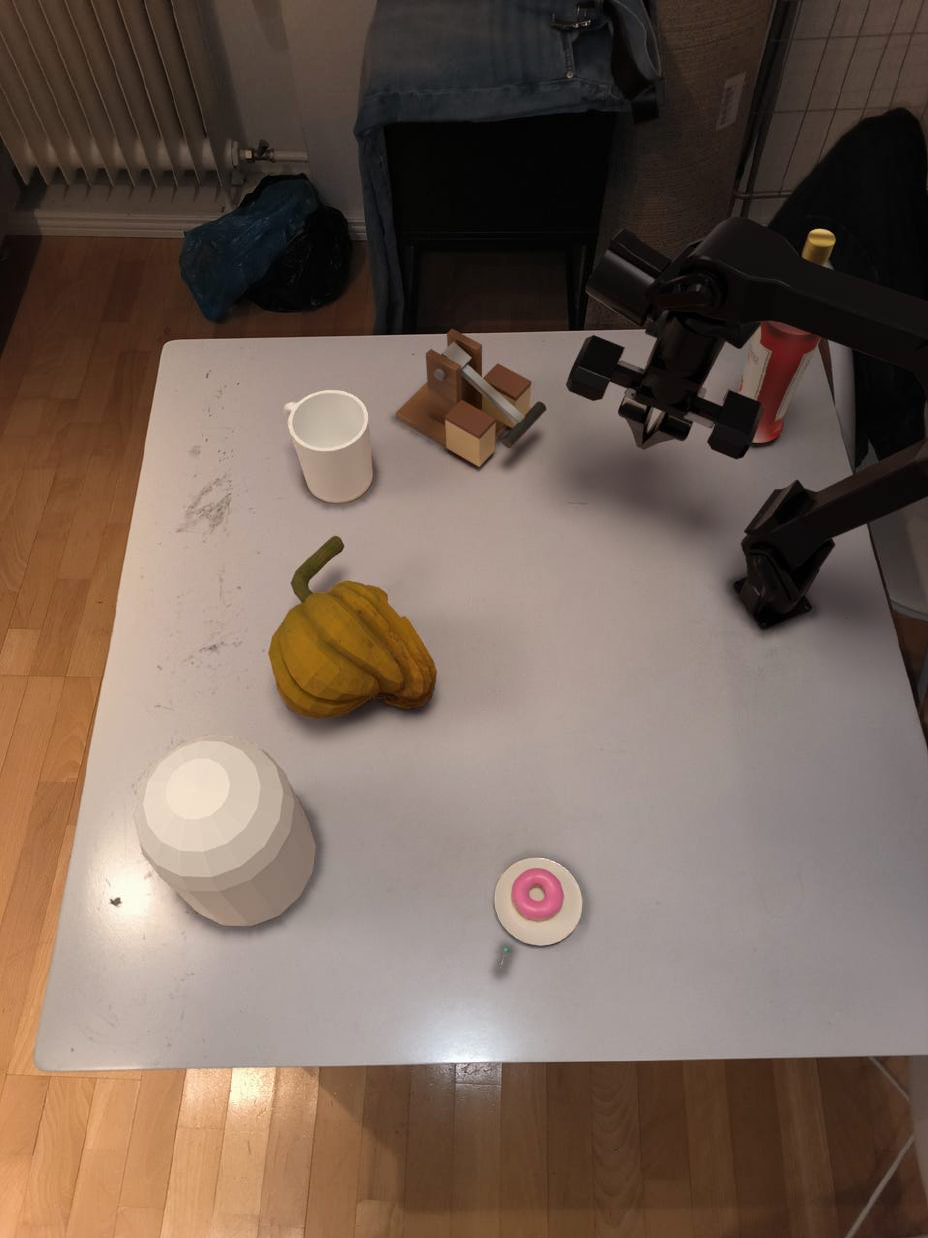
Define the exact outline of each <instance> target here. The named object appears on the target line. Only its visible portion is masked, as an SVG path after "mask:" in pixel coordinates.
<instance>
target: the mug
mask: <svg viewBox="0 0 928 1238" xmlns="http://www.w3.org/2000/svg"><path fill="white" fill-rule="evenodd" d="M283 416H284V420H285V422H286V424H287V427H288V430H289V433H290V436H291V437H290V438H291V439H292V442H293V446H294V449H295V452H296V455H297V458H298V461H299V463H300V468H301V470H302V474H303V476H304V479H305V483H306V485H307V488H308V490H309V491H310V493H311V494H312V495H313V496H314V497H316V498H317V499H319V500H320V501H323V502H325V503H329V504H337V505H338V504H346V503H349V502H352V501H355V500H357V499H358V498H360V497H362V496H363V495H364V494H365V493H366V492H367V491H368V490H369V488H370V487H371V485H372V482H373V479H374V472H373V471H374V469H373V460H372V459H373V458H372V457H373V456H372V447H371V435H370V434H371V433H370V422H369V421H370V420H369V412H368V410H367V408H366V404H364V403H363V402H362V401H361V399H360V398H358V397H357V396H356V395H354V394H352V393H350V392H346V391H344V390H337V389H326V390H320V391H315V392H312V393H310V394H309V395H308V394H307V396H304V397H303V398H302V399H301V400H299V401H298V402H296V401H290V402H287V403H285V405H284V407H283Z"/></svg>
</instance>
